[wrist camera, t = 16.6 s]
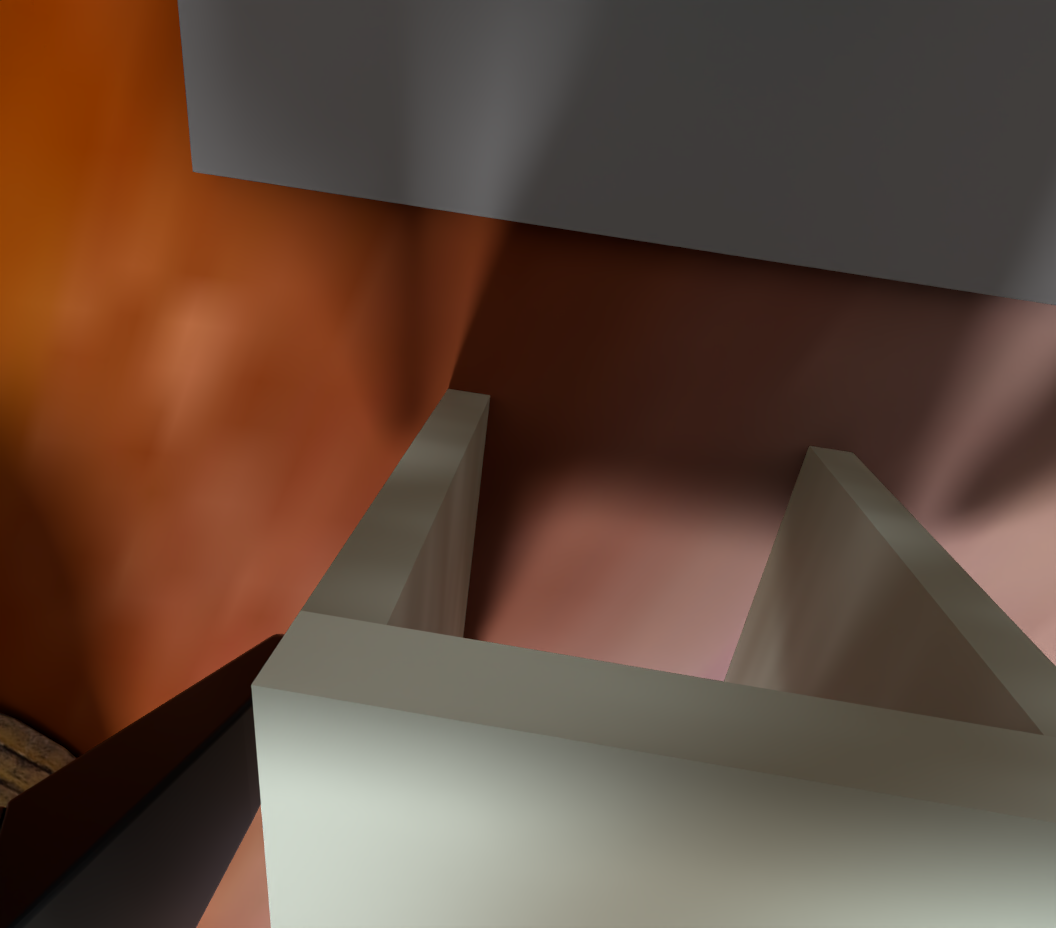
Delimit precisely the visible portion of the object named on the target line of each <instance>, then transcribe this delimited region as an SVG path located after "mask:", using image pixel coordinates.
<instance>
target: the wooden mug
mask: <svg viewBox="0 0 1056 928" xmlns="http://www.w3.org/2000/svg"><path fill="white" fill-rule="evenodd" d="M75 759H76V757H74V756H73V755H72V754H71V753H70V752H69V751H68V750H67V749H66V748H64V747H62V746H61V745H59V744H58V743H56V742H54V741H53V740H51V739H49V738H48V737H46V736H44V735H43V734H41V733H39V732H38V731H36V730H34V729H33V728H31V727H30V726H28V725H26V724H25V723H23V722H21V721H20V720H18V719H16V718H13V717H11V716H8V715H6V714H3V713H1V712H0V806H4V807H6V806H7V803H8V802H9V801H10V800H11V799H13V798H14V797H16V796H17V795H19V794H21V793H22V792H24V791H25V790H27V789H29V788H30V787H32V786H33V785H35V784H37V783H38V782H40V781H41V780H43V779H45V778H46V777H48V776H49V775H51V774H53V773H54V772H56V771H57V770H59V769H60V768H62V767H64V766H65V765H67V764H68V763H70V762H72V761H73V760H75Z"/></svg>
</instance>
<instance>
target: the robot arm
mask: <svg viewBox="0 0 1056 928" xmlns="http://www.w3.org/2000/svg"><path fill="white" fill-rule="evenodd" d="M284 635H285V634H275V635H273V636H271V637H269V638H268V639H266V640H264V641H263V642H261V643H260V644H258V645H256V646H255V647H253V648H252V649H250V650H248V651H247V652H245V653H244V654H242V655H240V656H239V657H237V658H236V659H234V660H233V661H231V662H229V663H228V664H226V665H225V666H223V667H221V668H220V669H218V670H217V671H215V672H213V673H212V674H210V675H209V676H207V677H205V678H204V679H202V680H201V681H199V682H197V683H196V684H194V685H193V686H191V687H190V688H188V689H186V690H185V691H183V692H182V693H180V694H178V695H177V696H175V697H174V698H172V699H170V700H169V701H167V702H166V703H164V704H162V705H161V706H159V707H158V708H156V709H154V710H153V711H151V712H150V713H148V714H147V715H145V716H143V717H142V718H140V719H139V720H137V721H135V722H134V723H132V724H131V725H129V726H127V727H126V728H124V729H123V730H121V731H119V732H118V733H116V734H115V735H113V736H111V737H110V738H108V739H107V740H105V741H103V742H102V743H100V744H99V745H97V746H96V747H94V748H92V749H91V750H89V751H88V752H86V753H84V754H83V755H81V756H80V757H78V758H76V759H75V760H73V761H72V762H70V763H68V764H67V765H65V766H64V767H62V768H60V769H59V770H57V771H56V772H54V773H53V774H51V775H49V776H48V777H46V778H45V779H43V780H41V781H40V782H38V783H37V784H35V785H33V786H32V787H30V788H29V789H27V790H25V791H24V792H22V793H21V794H19V795H17V796H16V797H14V798H13V799H11V800H10V801H9V802H8V803H7V806H6V807H4V806H0V928H196V927H197V925H198V923H199V921H200V919H201V917H202V915H203V914H204V912H205V910H206V908H207V906H208V904H209V902H210V900H211V898H212V896H213V895H214V893H215V891H216V889H217V887H218V885H219V883H220V881H221V879H222V878H223V876H224V874H225V872H226V870H227V868H228V866H229V864H230V862H231V860H232V859H233V857H234V855H235V853H236V851H237V849H238V847H239V845H240V843H241V842H242V840H243V838H244V836H245V834H246V832H247V830H248V828H249V826H250V824H251V823H252V821H253V819H254V817H255V815H256V813H257V811H258V808H259V806H260V804H261V798H260V786H259V774H258V762H257V749H256V737H255V725H254V713H253V700H252V688H251V685H252V683H253V682H254V680H255V679H256V677H257V676H258V674H259V673H260V671H261V670H262V668H263V666H264V665H265V663H266V662H267V660H268V659H269V657H270V656H271V654H272V653H273V651H274V650H275V648H276V647H277V645H278V644H279V642H280V641H281V639H282V638H283V636H284Z"/></svg>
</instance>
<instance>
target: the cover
mask: <svg viewBox="0 0 1056 928" xmlns="http://www.w3.org/2000/svg"><path fill="white" fill-rule="evenodd" d="M489 404H490V395H485V394H478V393H472V392H466V391H459V390H453V389H448V390H447V391H446V393H445V394H444V396H443V397H442V399H441V400H440V402H439V403H438V405H437V406H436V408H435V409H434V411H433V412H432V414H431V415H430V417H429V418H428V420H427V421H426V423H425V424H424V426H423V427H422V429H421V430H420V432H419V433H418V435H417V436H416V438H415V439H414V441H413V442H412V444H411V445H410V447H409V448H408V450H407V451H406V453H405V454H404V456H403V457H402V459H401V460H400V462H399V463H398V465H397V466H396V468H395V469H394V471H393V473H392V474H391V476H390V477H389V479H388V480H387V482H386V483H385V485H384V486H383V488H382V489H381V491H380V492H379V494H378V495H377V497H376V498H375V500H374V501H373V503H372V504H371V506H370V507H369V509H368V510H367V512H366V513H365V515H364V516H363V518H362V519H361V521H360V522H359V524H358V525H357V527H356V528H355V530H354V531H353V533H352V534H351V536H350V537H349V539H348V540H347V542H346V543H345V545H344V546H343V548H342V549H341V551H340V552H339V554H338V555H337V557H336V558H335V560H334V561H333V563H332V564H331V566H330V567H329V569H328V570H327V572H326V573H325V575H324V576H323V578H322V579H321V581H320V582H319V584H318V585H317V587H316V588H315V590H314V591H313V593H312V594H311V596H310V597H309V599H308V600H307V602H306V603H305V605H304V606H303V608H302V609H301V611H300V612H299V614H298V615H297V617H296V618H295V620H294V621H293V623H292V624H291V626H290V627H289V629H288V630H287V632H286V633H285V635H284V636H283V638H282V639H281V641H280V642H279V644H278V645H277V647H276V648H275V650H274V651H273V653H272V654H271V656H270V657H269V659H268V660H267V662H266V663H265V665H264V666H263V668H262V670H261V671H260V673H259V674H258V676H257V677H256V679H255V680H254V682H253V683H252V685H251V688H252V700H253V713H254V725H255V737H256V749H257V762H258V774H259V786H260V798H261V811H262V823H263V835H264V847H265V860H266V872H267V884H268V896H269V909H270V921H271V928H1056V666H1055V665H1054V664H1053V663H1052V662H1051V661H1050V660H1049V659H1048V658H1047V657H1046V656H1045V655H1044V654H1043V653H1042V651H1041V650H1040V649H1039V648H1038V647H1037V646H1036V645H1035V644H1034V643H1033V642H1032V641H1031V640H1030V639H1029V638H1028V637H1027V636H1026V635H1025V634H1024V633H1023V631H1022V630H1021V629H1020V628H1019V627H1018V626H1017V625H1016V624H1015V623H1014V622H1013V621H1012V620H1011V619H1010V618H1009V617H1008V616H1007V615H1006V614H1005V612H1004V611H1003V610H1002V609H1001V608H1000V607H999V606H998V605H997V604H996V603H995V602H994V601H993V600H992V599H991V598H990V597H989V596H988V595H987V594H986V592H985V591H984V590H983V589H982V588H981V587H980V586H979V585H978V584H977V583H976V582H975V581H974V580H973V579H972V578H971V577H970V576H969V575H968V573H967V572H966V571H965V570H964V569H963V568H962V567H961V566H960V565H959V564H958V563H957V562H956V561H955V560H954V559H953V558H952V557H951V556H950V555H949V553H948V552H947V551H946V550H945V549H944V548H943V547H942V546H941V545H940V544H939V543H938V542H937V541H936V540H935V539H934V538H933V537H932V536H931V534H930V533H929V532H928V531H927V530H926V529H925V528H924V527H923V526H922V525H921V524H920V523H919V522H918V521H917V520H916V519H915V518H914V517H913V516H912V514H911V513H910V512H909V511H908V510H907V509H906V508H905V507H904V506H903V505H902V504H901V503H900V502H899V501H898V500H897V499H896V498H895V497H894V495H893V494H892V493H891V492H890V491H889V490H888V489H887V488H886V487H885V486H884V485H883V484H882V483H881V482H880V481H879V480H878V479H877V478H876V476H875V475H874V474H873V473H872V472H871V471H870V470H869V469H868V468H867V467H866V466H865V465H864V464H863V463H862V462H861V461H860V460H859V459H858V458H857V456H856V455H855V454H854V453H853V452H846V451H840V450H834V449H827V448H821V447H815V446H809V448H808V450H807V453H806V456H805V459H804V461H803V464H802V467H801V470H800V472H799V475H798V478H797V481H796V484H795V486H794V489H793V492H792V495H791V497H790V500H789V503H788V506H787V508H786V511H785V514H784V517H783V519H782V522H781V525H780V528H779V530H778V533H777V536H776V539H775V542H774V544H773V547H772V550H771V553H770V555H769V558H768V561H767V564H766V566H765V569H764V572H763V575H762V577H761V580H760V583H759V586H758V588H757V591H756V594H755V597H754V600H753V602H752V605H751V608H750V611H749V613H748V616H747V619H746V622H745V624H744V627H743V630H742V633H741V635H740V638H739V641H738V644H737V647H736V649H735V652H734V655H733V658H732V660H731V663H730V666H729V669H728V671H727V674H726V677H725V680H724V682H723V681H717V680H711V679H705V678H699V677H694V676H688V675H682V674H676V673H670V672H664V671H658V670H652V669H646V668H640V667H634V666H628V665H622V664H616V663H610V662H604V661H598V660H592V659H586V658H580V657H574V656H568V655H563V654H557V653H551V652H545V651H539V650H533V649H527V648H521V647H515V646H509V645H503V644H497V643H491V642H485V641H479V640H473V639H467V638H463V635H464V626H465V617H466V608H467V599H468V590H469V582H470V573H471V564H472V555H473V546H474V537H475V528H476V519H477V511H478V502H479V493H480V484H481V475H482V466H483V457H484V448H485V440H486V431H487V422H488V413H489Z"/></svg>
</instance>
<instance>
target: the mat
mask: <svg viewBox="0 0 1056 928" xmlns="http://www.w3.org/2000/svg"><path fill="white" fill-rule="evenodd" d="M178 9H179V20H180V32H181V43H182V54H183V65H184V77H185V88H186V99H187V111H188V122H189V133H190V144H191V156H192V167H193V172H198V173H204V174H211V175H217V176H224V177H230V178H237V179H243V180H250V181H256V182H263V183H269V184H275V185H282V186H288V187H295V188H301V189H308V190H314V191H321V192H327V193H334V194H340V195H347V196H353V197H360V198H366V199H372V200H379V201H385V202H392V203H398V204H405V205H411V206H418V207H424V208H431V209H437V210H444V211H450V212H457V213H463V214H469V215H476V216H482V217H489V218H495V219H502V220H508V221H515V222H521V223H528V224H534V225H541V226H547V227H554V228H560V229H566V230H573V231H579V232H586V233H592V234H599V235H605V236H612V237H618V238H625V239H631V240H638V241H644V242H651V243H657V244H663V245H670V246H676V247H683V248H689V249H696V250H702V251H709V252H715V253H722V254H728V255H735V256H741V257H747V258H754V259H760V260H767V261H773V262H780V263H786V264H793V265H799V266H806V267H812V268H819V269H825V270H832V271H838V272H844V273H851V274H857V275H864V276H870V277H877V278H883V279H890V280H896V281H903V282H909V283H916V284H922V285H929V286H935V287H941V288H948V289H954V290H961V291H967V292H974V293H980V294H987V295H993V296H1000V297H1006V298H1013V299H1019V300H1026V301H1032V302H1038V303H1045V304H1051V305H1056V0H178Z"/></svg>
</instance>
